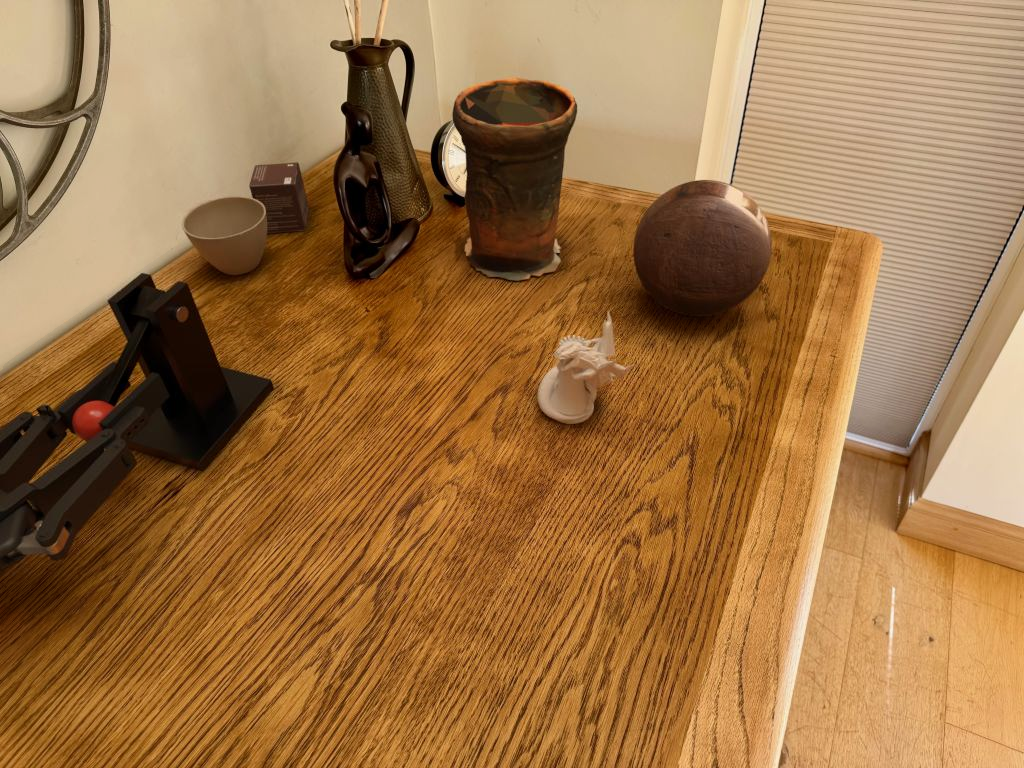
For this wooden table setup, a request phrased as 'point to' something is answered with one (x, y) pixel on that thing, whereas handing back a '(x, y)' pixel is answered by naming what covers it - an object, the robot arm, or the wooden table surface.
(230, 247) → the flower pot
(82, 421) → the switch
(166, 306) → the lever base
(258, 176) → the box
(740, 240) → the wooden sphere
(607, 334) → the figurine
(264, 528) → the wooden table surface
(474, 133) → the vessel
